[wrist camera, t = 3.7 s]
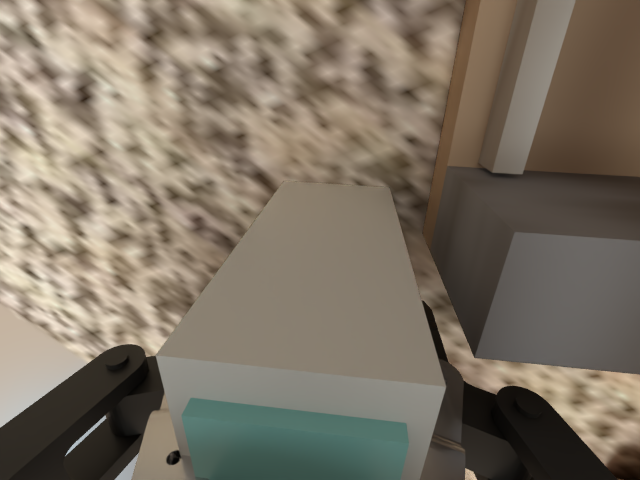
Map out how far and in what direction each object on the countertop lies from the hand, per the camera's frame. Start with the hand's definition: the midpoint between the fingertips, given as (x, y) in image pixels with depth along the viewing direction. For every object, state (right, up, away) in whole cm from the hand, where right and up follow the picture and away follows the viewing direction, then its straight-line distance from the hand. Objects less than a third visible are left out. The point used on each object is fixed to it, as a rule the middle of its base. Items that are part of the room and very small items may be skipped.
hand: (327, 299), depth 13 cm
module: (0, +1, +2) cm, 2 cm away
